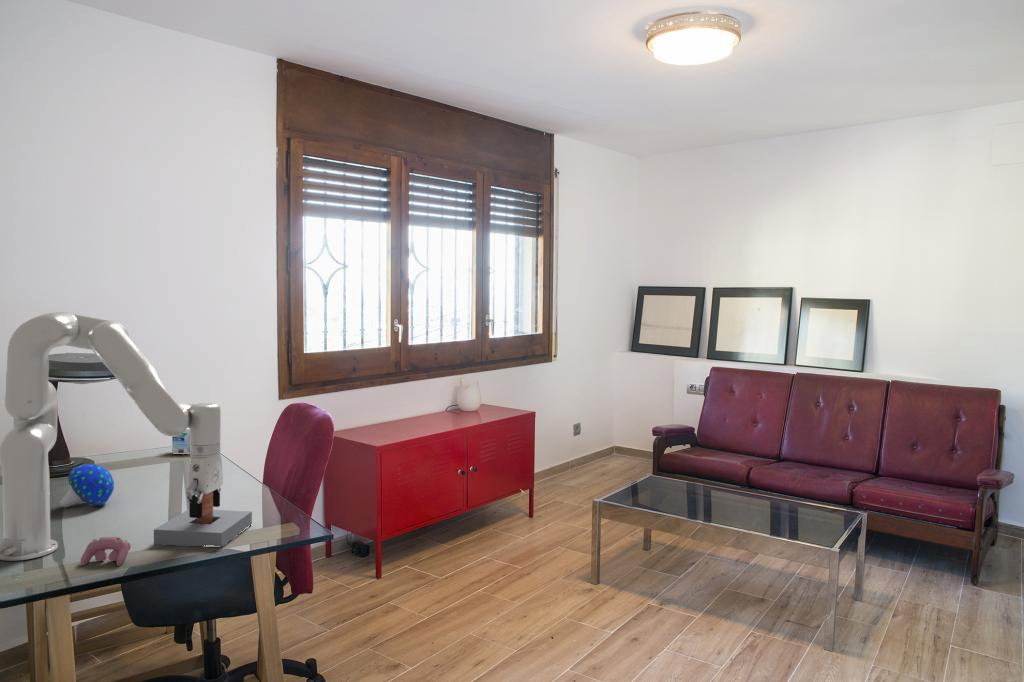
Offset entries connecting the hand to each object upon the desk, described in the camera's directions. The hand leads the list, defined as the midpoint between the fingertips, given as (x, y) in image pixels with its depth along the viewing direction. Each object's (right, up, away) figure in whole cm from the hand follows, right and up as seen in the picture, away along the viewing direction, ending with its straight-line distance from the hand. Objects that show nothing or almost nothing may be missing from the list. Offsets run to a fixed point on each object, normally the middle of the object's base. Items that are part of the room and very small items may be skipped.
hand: (205, 511), depth 187 cm
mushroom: (-45, -4, +22) cm, 50 cm away
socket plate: (0, -6, 0) cm, 6 cm away
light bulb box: (-48, 0, +93) cm, 104 cm away
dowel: (0, -6, 0) cm, 6 cm away
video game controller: (-15, -7, -20) cm, 26 cm away
